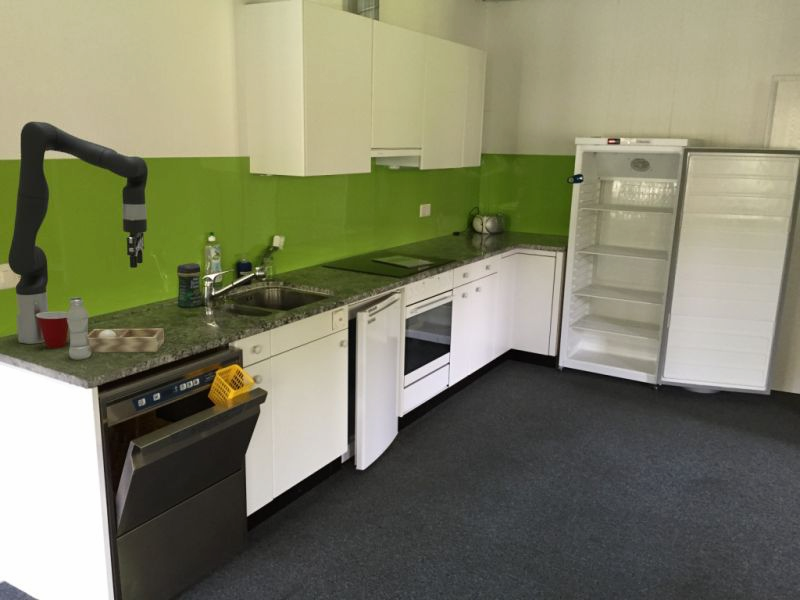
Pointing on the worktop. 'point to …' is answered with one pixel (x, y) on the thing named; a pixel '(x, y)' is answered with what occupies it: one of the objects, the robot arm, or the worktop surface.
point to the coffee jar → (189, 285)
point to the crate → (127, 340)
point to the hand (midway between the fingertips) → (136, 265)
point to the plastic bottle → (78, 330)
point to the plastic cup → (53, 328)
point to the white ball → (107, 334)
